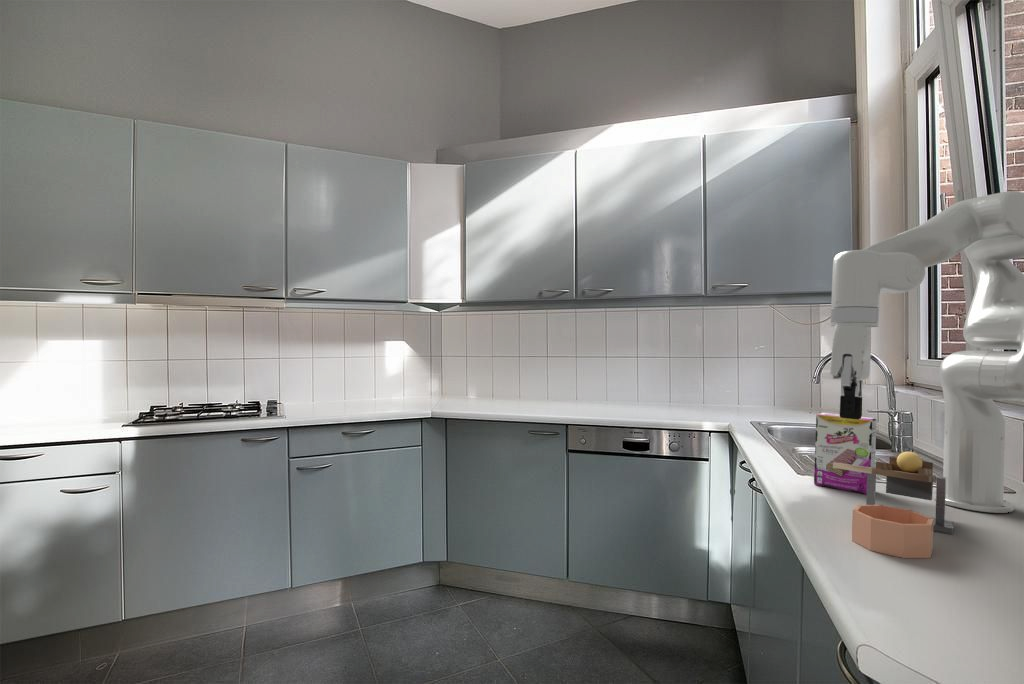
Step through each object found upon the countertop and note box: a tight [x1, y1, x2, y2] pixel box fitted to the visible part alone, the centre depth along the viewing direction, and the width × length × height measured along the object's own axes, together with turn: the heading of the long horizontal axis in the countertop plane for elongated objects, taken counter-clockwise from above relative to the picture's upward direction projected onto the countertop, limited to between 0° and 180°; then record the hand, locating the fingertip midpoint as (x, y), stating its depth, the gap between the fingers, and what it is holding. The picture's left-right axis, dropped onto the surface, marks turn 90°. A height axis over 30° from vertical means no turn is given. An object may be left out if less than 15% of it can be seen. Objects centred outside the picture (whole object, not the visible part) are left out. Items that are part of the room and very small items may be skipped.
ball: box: [896, 451, 923, 473], centre depth 105 cm, size 4×4×4 cm
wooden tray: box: [833, 456, 937, 501], centre depth 102 cm, size 18×14×7 cm
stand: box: [865, 466, 955, 535], centre depth 100 cm, size 5×14×9 cm, turn 49°
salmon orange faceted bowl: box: [851, 504, 934, 559], centre depth 88 cm, size 10×10×5 cm
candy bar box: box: [813, 412, 877, 495], centre depth 123 cm, size 11×5×16 cm, turn 47°
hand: (850, 418), depth 100 cm, fingers closed
